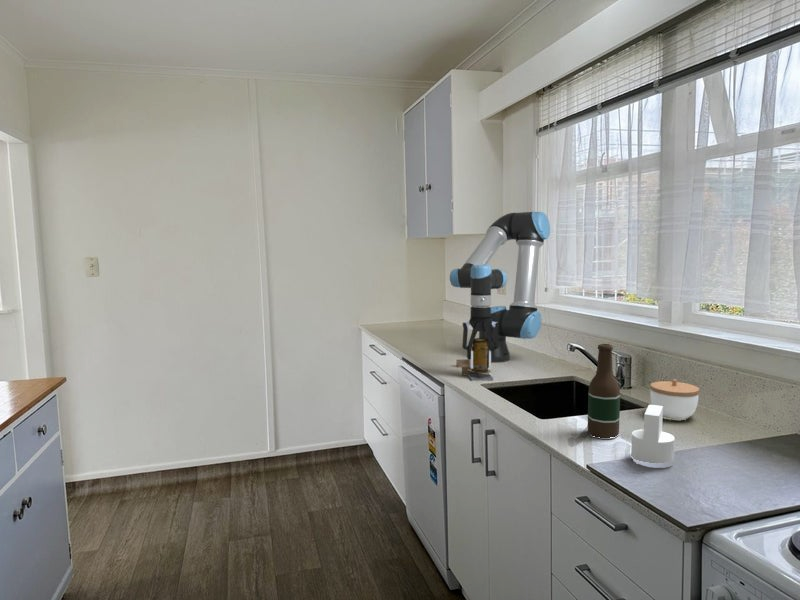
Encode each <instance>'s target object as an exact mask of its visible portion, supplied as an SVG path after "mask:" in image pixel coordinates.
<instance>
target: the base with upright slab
mask: <svg viewBox="0 0 800 600" xmlns="http://www.w3.org/2000/svg"><path fill="white" fill-rule="evenodd" d="M643 414H644V417H643V418H644V419H643V421H644V422H643V423H644V424H643V429H635V430H633V431H632V432H631V449H630V451H631V452H630V453H631V456H632V457H633V458H634V459H636V460H639V461H643V462H649V463H665V462H670V461H673V459H674V460H675V446H676V445H675V444H676V443H675V441H676V439H675V436H674V435H672V434H671V433H668V432H665V431H663V420H664V419H663V406H658V405H652V404H648V406H647V408H646V410H645V412H644V413H643ZM631 456H630V457H631Z"/></svg>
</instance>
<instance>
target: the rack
mask: <svg viewBox="0 0 800 600" xmlns="http://www.w3.org/2000/svg"><path fill="white" fill-rule="evenodd" d="M456 366H457V367H456V368H461V376H468V374H481V373H477V372H472V371H469V370H468V369H472V368H470V359H468V358H467V359H465V358H464V359H462V358H460V359H456ZM464 374H465V375H464ZM466 374H467V375H466Z"/></svg>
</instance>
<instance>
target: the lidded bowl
mask: <svg viewBox="0 0 800 600" xmlns="http://www.w3.org/2000/svg"><path fill="white" fill-rule="evenodd" d="M649 389H650V402H651V405H658V406H663V417H666V418H671V419H686V418H687V419H688V418H690V417H692V415H693V414H695V412H696V410H697V408H698V404H699V395H700V388H699V387H698V386H696V385H693V384H691V383H686V382H679V381H678V379H673V378H672V380H671V381H668V380H667V381H666V380H665V381H664V380H663V381H662V380H661V381H654V382H652V383H650V385H649Z"/></svg>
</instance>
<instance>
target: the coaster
mask: <svg viewBox="0 0 800 600" xmlns="http://www.w3.org/2000/svg"><path fill="white" fill-rule="evenodd" d="M467 377H468V378H469V377H470V378H469V379H470V381H471V380H490V381H494V377H493V376H492V375H491V374H490V373H487V374H468V375H467Z"/></svg>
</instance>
